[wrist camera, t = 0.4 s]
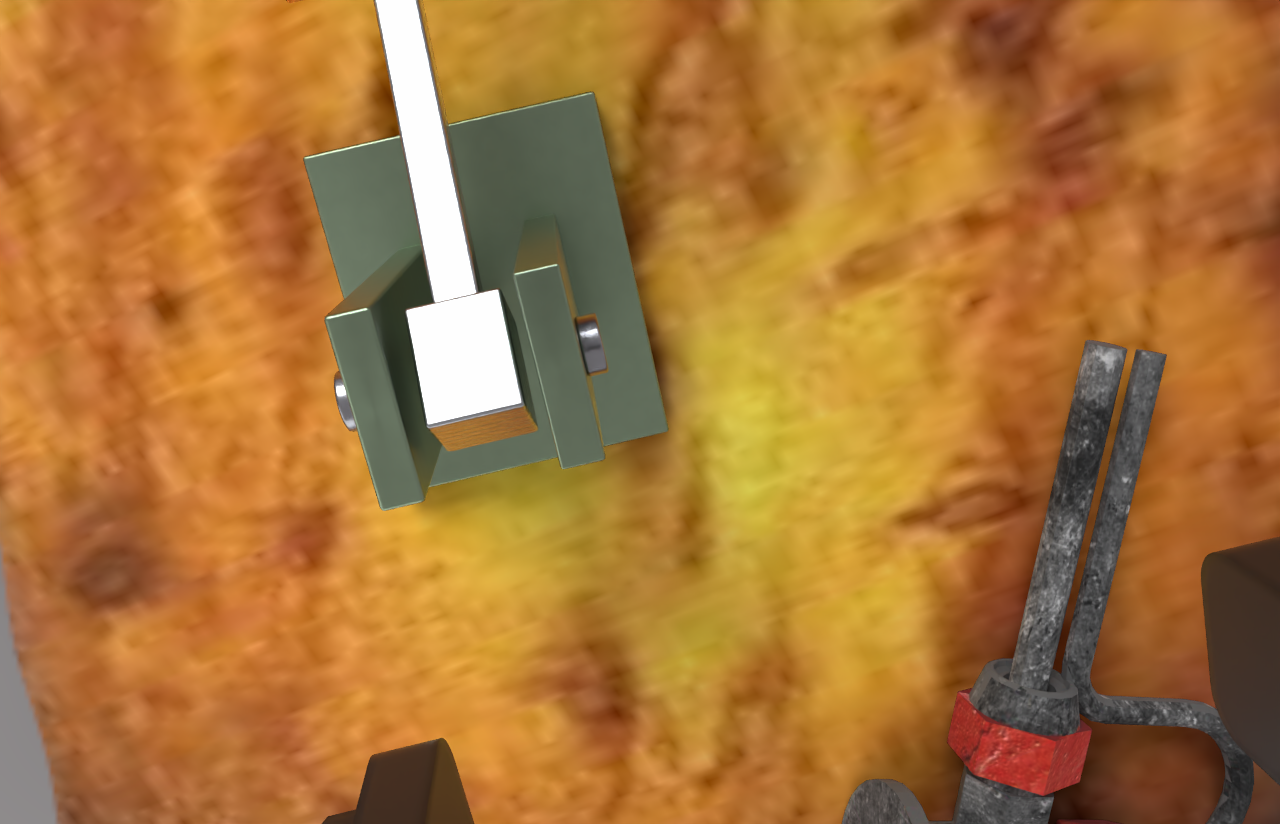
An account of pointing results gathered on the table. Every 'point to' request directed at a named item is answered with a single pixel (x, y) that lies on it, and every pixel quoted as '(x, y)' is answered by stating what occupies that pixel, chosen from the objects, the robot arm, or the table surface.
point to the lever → (449, 262)
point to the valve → (1027, 684)
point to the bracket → (507, 259)
